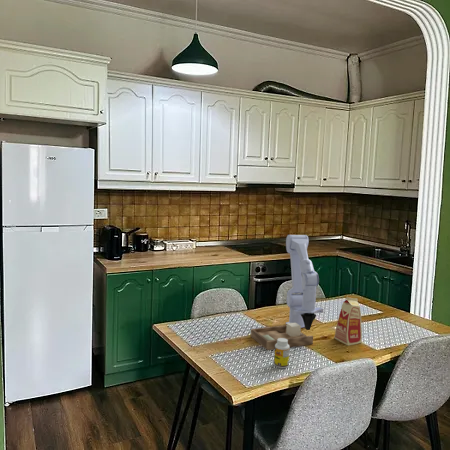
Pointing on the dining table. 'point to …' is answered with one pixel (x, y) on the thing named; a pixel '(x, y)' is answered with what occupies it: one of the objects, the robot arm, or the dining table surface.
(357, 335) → the milk carton
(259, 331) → the tray
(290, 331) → the block
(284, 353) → the supplement bottle
